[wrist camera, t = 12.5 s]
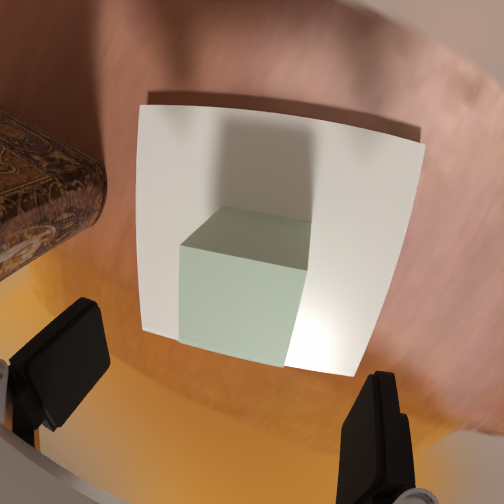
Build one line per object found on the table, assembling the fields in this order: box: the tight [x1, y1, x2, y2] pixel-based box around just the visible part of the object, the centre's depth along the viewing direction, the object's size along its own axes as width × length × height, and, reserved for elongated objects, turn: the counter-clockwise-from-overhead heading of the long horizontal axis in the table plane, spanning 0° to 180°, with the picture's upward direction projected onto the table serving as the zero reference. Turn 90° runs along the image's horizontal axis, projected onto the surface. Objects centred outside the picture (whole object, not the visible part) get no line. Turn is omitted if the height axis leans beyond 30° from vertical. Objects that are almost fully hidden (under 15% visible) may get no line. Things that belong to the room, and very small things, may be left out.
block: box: [179, 206, 312, 367], centre depth 16 cm, size 5×5×6 cm
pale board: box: [136, 105, 426, 377], centre depth 19 cm, size 16×16×1 cm
